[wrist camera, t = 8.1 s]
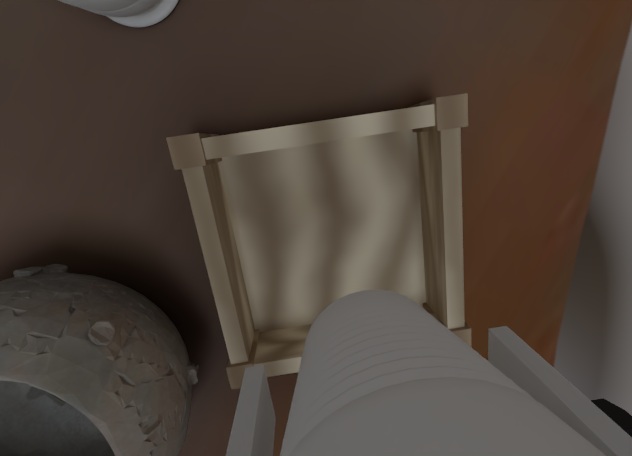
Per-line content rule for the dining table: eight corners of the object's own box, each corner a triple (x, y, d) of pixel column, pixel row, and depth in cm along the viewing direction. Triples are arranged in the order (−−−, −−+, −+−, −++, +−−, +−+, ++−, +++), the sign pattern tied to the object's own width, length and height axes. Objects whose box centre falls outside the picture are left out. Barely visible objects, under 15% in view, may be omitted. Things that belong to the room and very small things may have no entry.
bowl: (195, 445, 39) (137, 621, 25) (-8, 418, 37) (-204, 598, 22) (228, 274, 34) (177, 374, 19) (-9, 227, 31) (-273, 303, 17)
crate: (242, 347, 36) (231, 389, 30) (192, 138, 30) (166, 137, 24) (441, 315, 37) (471, 350, 30) (432, 102, 30) (467, 93, 24)
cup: (353, 201, 14) (554, 422, 3) (511, 322, 16) (968, 711, 5) (223, 366, 15) (55, 876, 5) (380, 455, 17) (511, 952, 7)
